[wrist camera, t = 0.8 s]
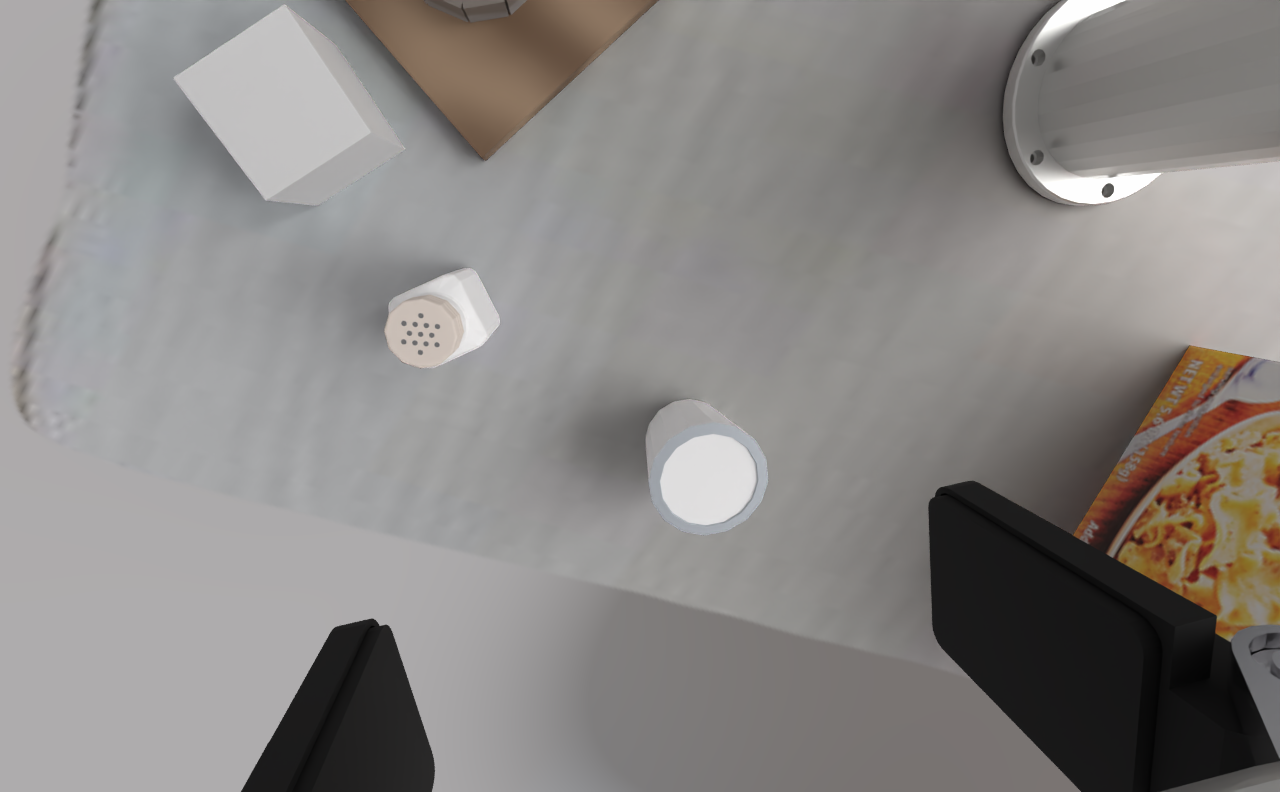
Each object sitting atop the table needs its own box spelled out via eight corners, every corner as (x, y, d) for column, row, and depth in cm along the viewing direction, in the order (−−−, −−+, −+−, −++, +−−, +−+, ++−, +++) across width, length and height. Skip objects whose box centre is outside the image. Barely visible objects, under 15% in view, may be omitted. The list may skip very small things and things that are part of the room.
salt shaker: (446, 350, 36) (403, 391, 27) (413, 291, 35) (356, 312, 26) (505, 324, 36) (481, 355, 27) (474, 263, 35) (438, 274, 26)
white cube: (318, 206, 33) (265, 201, 28) (244, 105, 32) (171, 78, 26) (407, 149, 33) (371, 132, 27) (337, 44, 31) (284, 3, 26)
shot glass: (614, 438, 39) (623, 481, 32) (691, 368, 38) (716, 397, 32) (682, 504, 41) (703, 558, 34) (756, 439, 40) (793, 480, 33)
